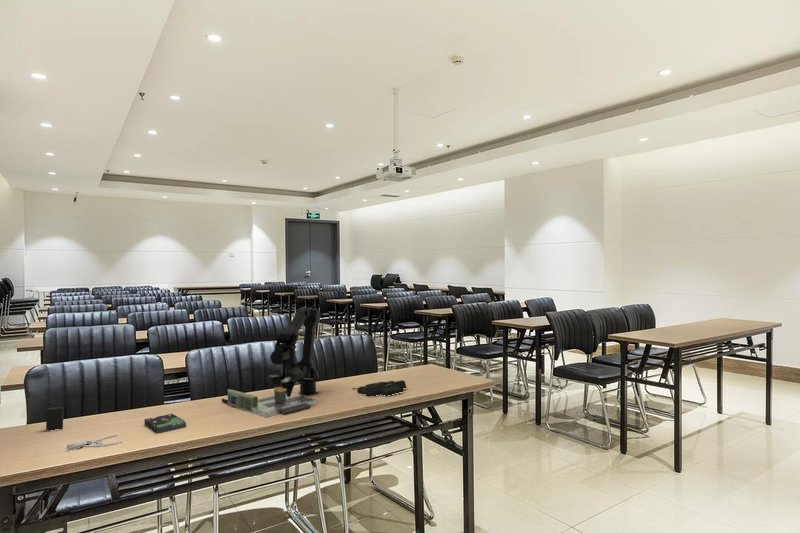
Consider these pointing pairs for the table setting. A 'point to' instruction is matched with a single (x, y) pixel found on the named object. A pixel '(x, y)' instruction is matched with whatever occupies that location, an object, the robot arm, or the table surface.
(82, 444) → the pliers
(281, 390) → the lever
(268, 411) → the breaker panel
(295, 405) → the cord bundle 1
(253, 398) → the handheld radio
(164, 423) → the disk drive
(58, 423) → the ink cartridge
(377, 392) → the electronic device
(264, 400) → the grey rounded rod
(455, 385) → the table surface
